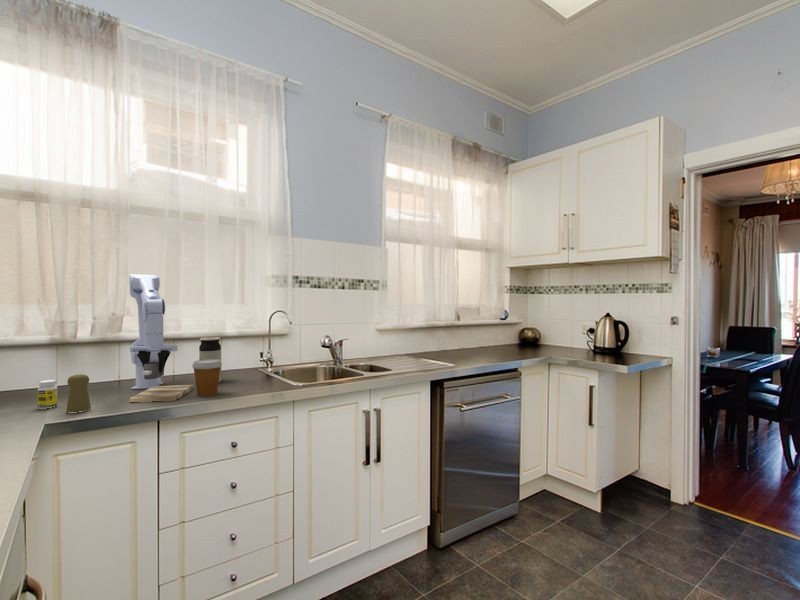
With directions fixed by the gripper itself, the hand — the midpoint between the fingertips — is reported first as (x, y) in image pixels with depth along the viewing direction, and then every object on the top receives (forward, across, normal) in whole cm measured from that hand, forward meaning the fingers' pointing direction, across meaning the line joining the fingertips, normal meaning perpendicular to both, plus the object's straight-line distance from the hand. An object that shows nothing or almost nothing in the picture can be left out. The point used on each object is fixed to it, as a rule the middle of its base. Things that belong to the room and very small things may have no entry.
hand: (154, 372), depth 140 cm
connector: (+2, 0, -1) cm, 2 cm away
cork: (+9, -15, -15) cm, 23 cm away
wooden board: (+8, +3, +1) cm, 9 cm away
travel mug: (+9, +13, +21) cm, 26 cm away
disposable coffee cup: (+9, +18, -1) cm, 20 cm away
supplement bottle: (+9, -27, -10) cm, 30 cm away
